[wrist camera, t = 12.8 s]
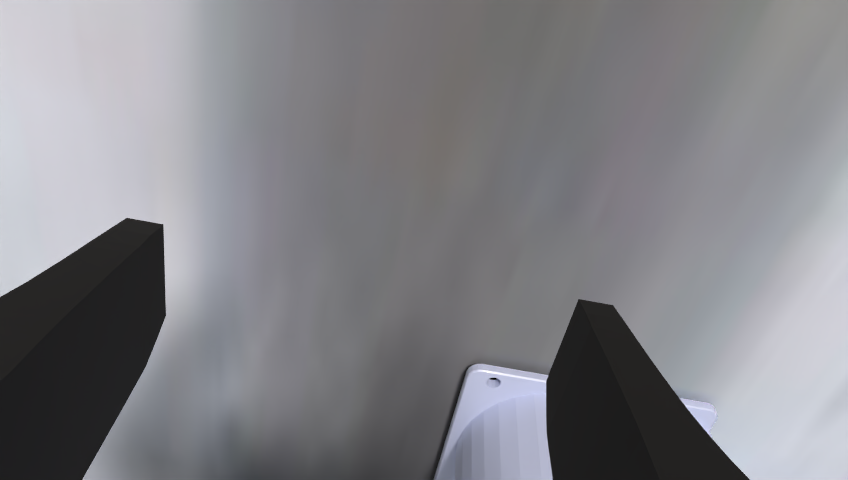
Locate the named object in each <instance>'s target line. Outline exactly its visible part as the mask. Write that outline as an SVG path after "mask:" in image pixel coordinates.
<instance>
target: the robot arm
mask: <svg viewBox="0 0 848 480" xmlns="http://www.w3.org/2000/svg"><path fill="white" fill-rule="evenodd" d="M165 316H166V306H165V270H164V234H163V224H157V223H152V222H146V221H141V220H135V219H130V218H126V219H125V220H123V221H121V222H120V223H118V224H117V225H115V226H114V227H112V228H110V229H109V230H107V231H106V232H104V233H103V234H101V235H100V236H98V237H97V238H95V239H94V240H92V241H90V242H89V243H87V244H86V245H84V246H83V247H81V248H80V249H78V250H77V251H75V252H74V253H72V254H71V255H69V256H67V257H66V258H64V259H63V260H61V261H60V262H58V263H57V264H55V265H53V266H52V267H50V268H49V269H47V270H45V271H44V272H42V273H41V274H39V275H37V276H36V277H34V278H33V279H31V280H29V281H28V282H26V283H24V284H23V285H21V286H19V287H17V288H15V289H14V290H12V291H10V292H8V293H7V294H5V295H3V296H1V297H0V480H82V479H83V477H84V475H85V473H86V472H87V470H88V468H89V466H90V465H91V463H92V461H93V459H94V458H95V456H96V454H97V452H98V451H99V449H100V447H101V445H102V443H103V442H104V440H105V438H106V436H107V435H108V433H109V431H110V429H111V428H112V426H113V424H114V422H115V420H116V419H117V417H118V415H119V413H120V412H121V410H122V408H123V406H124V405H125V403H126V401H127V399H128V397H129V396H130V394H131V392H132V390H133V388H134V387H135V385H136V383H137V381H138V379H139V378H140V376H141V374H142V372H143V370H144V368H145V367H146V364H147V362H148V359H149V357H150V355H151V352H152V350H153V347H154V345H155V342H156V340H157V337H158V335H159V332H160V329H161V327H162V324H163V322H164V319H165ZM489 378H497V379H496V380H490V379H489ZM717 418H718V415H717V412H716V409H715V407H714V406H713V405H712V404H709V403H706V402H700V401H694V400H688V399H683V398H679V397H678V396H677V395H676V393H675V392H674V391H673V389H672V388H671V387H670V385H669V384H668V383H667V381H666V380H665V379H664V377H663V376H662V374H661V373H660V372H659V370H658V369H657V368H656V366H655V365H654V363H653V362H652V361H651V359H650V358H649V356H648V355H647V353H646V352H645V351H644V349H643V348H642V346H641V345H640V343H639V342H638V341H637V339H636V338H635V336H634V335H633V333H632V332H631V330H630V329H629V327H628V326H627V325H626V323H625V322H624V320H623V319H622V317H621V316H620V315H619V313H618V312H617V310H616V309H615V308H614V306H613V305H608V304H603V303H597V302H591V301H586V300H580V299H579V300H578V302H577V305H576V307H575V310H574V312H573V315H572V317H571V320H570V323H569V325H568V328H567V330H566V333H565V335H564V338H563V340H562V343H561V345H560V348H559V350H558V353H557V355H556V358H555V360H554V363H553V365H552V368H551V370H550V373H549V375H544V374H538V373H532V372H527V371H521V370H515V369H509V368H503V367H498V366H492V365H486V364H475V365H472V366H471V367H469V368H468V370H467V372H466V375H465V378H464V382H463V385H462V388H461V391H460V395H459V398H458V401H457V405H456V408H455V411H454V414H453V418H452V421H451V424H450V428H449V431H448V434H447V437H446V441H445V444H444V447H443V451H442V454H441V457H440V460H439V464H438V467H437V470H436V474H435V477H434V480H749V478H748V477H747V476H746V475H745V474H744V473H743V472H742V471H741V470H740V469H739V468H738V467H737V466H736V465H735V464H734V463H733V462H732V461H731V460H730V459H729V457H728V456H727V455H726V454H725V453H724V452H723V451H722V450H721V449H720V447H719V446H718V445H717V444H716V443H715V442H714V440H713V438H712V435H711V432H710V430H711V429H712V427H713V425H714V424H715V422H716V421H717Z"/></svg>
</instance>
